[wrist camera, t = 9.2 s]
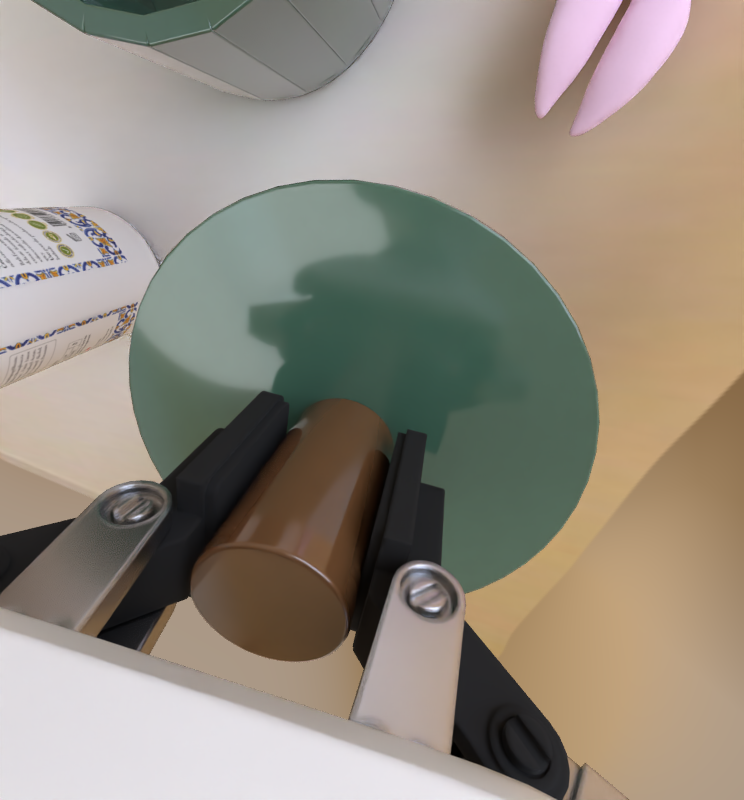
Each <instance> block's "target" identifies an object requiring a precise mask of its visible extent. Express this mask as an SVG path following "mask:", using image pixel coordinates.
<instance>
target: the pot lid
mask: <svg viewBox="0 0 744 800" xmlns="http://www.w3.org/2000/svg"><path fill="white" fill-rule="evenodd" d="M129 384H130V391H131V397H132V404H133V410H134V414H135V417H136V420H137V424H138V427H139V431H140V434H141V437H142V439H143V441H144V444H145V446H146V449H147V451H148V453H149V456H150V458H151V460H152V462H153V463H154V465H155V467H156V469H157V471H158V472H159V474H160V476H161V478H162V480H164V479H165V478H166V477H167V476H168V475H169V474H170V473H171V472H172V471H173V470H175V469H176V468H177V467H178V466H179V465H180V464H181V463H182V462H183V461H184V460H185V459H186V458H187V457H188V456H189V455H190V454H191V453H192V452H193V451H194V450H195V449H196V448H197V447H198V446H199V445H200V444H201V443H202V442H203V441H204V440H205V439H206V438H207V437H208V436H210V435H211V434H212V433H213V432H214V431H215V430H216V429H218V428H224V429H225V427H226V426H227V425H228V424H229V423H230V422H231V421H232V420H233V419H234V418H235V417H236V416H237V415H238V414H239V413H240V412H241V411H242V410H243V409H244V408H245V407H246V406H247V405H248V404H249V403H250V402H251V401H252V400H253V399H254V398H255V397H256V396H257V395H258V394H259V393H260V392H262V391H267V392H270V393H274V394H278V395H282V396H283V397H284V402H288V403H289V415H288V424H287V433H286V435H285V436H284V438H283V439H282V441H281V442H280V443H279V445H278V446H277V448H276V449H275V450H274V452H273V453H272V455H271V456H270V457H269V459H268V460H267V462H266V463H265V464H264V466H263V467H262V468H261V470H260V471H259V473H258V474H257V475H256V477H255V478H254V480H253V481H252V482H251V484H250V485H249V487H248V488H247V489H246V491H245V492H244V494H243V495H242V496H241V498H240V499H239V501H238V502H237V503H236V505H235V506H234V507H233V509H232V510H231V512H230V513H229V514H228V516H227V517H226V519H225V520H224V521H223V523H222V524H221V526H220V527H219V528H218V530H217V531H216V533H215V534H214V535H213V537H212V538H211V540H210V541H209V542H208V544H207V545H206V547H205V548H204V549H203V551H202V552H201V553H200V555H199V556H198V558H197V559H196V560H195V562H194V564H193V566H192V569H191V572H190V577H189V589H190V594H191V598H192V600H193V603H194V605H195V607H196V608H197V610H198V612H199V613H200V615H201V616H202V617H203V619H204V620H205V621H206V622H207V623H208V624H209V625H210V626H211V627H212V628H213V629H214V630H215V631H216V632H217V633H219V634H220V635H221V636H223V637H224V638H225V639H227V640H228V641H230V642H231V643H233V644H234V645H237V646H238V647H240V648H242V649H244V650H246V651H248V652H251V653H253V654H256V655H259V656H262V657H265V658H269V659H273V660H278V661H285V662H308V661H314V660H318V659H321V658H324V657H326V656H328V655H330V654H332V653H333V652H335V651H336V650H337V649H338V648H339V647H340V646H341V645H342V644H343V642H344V641H345V640H346V638H347V636H348V634H349V631H350V628H351V624H352V620H353V616H354V612H355V608H356V604H357V600H358V596H359V592H360V587H361V575H362V571H363V567H364V563H365V559H366V555H367V551H368V547H369V544H370V540H371V536H372V532H373V528H374V524H375V520H376V516H377V513H378V509H379V505H380V501H381V497H382V493H383V489H384V485H385V482H386V478H387V474H388V470H389V466H390V462H391V458H392V455H393V451H394V447H395V443H396V439H397V436H398V432H401V433H405V434H406V432H407V429H410V430H414V431H418V432H421V433H425V434H427V440H426V447H425V454H424V462H423V469H422V476H421V483H425V484H428V485H432V486H436V487H439V488H443V489H444V490H445V500H444V519H443V539H442V559H441V567H443V568H445V569H446V570H448V571H449V572H450V573H451V574H452V575H454V577H455V578H456V579H457V580H458V582H459V583H460V584H461V587H462V589H463V591H464V594H466V593H469V592H472V591H475V590H478V589H481V588H483V587H485V586H487V585H489V584H491V583H493V582H496V581H498V580H500V579H502V578H504V577H505V576H507V575H509V574H510V573H512V572H513V571H515V570H516V569H518V568H520V567H521V566H523V565H524V564H526V563H527V562H528V561H529V560H530V559H532V558H533V557H534V556H535V555H536V554H538V553H539V552H540V551H541V550H542V549H544V548H545V547H546V545H547V544H548V543H549V542H550V541H551V540H552V539H553V538H554V537H555V535H556V534H557V533H558V532H559V531H560V530H561V529H562V527H563V526H564V524H565V523H566V521H567V520H568V518H569V517H570V515H571V514H572V512H573V511H574V509H575V508H576V506H577V504H578V502H579V500H580V498H581V496H582V493H583V491H584V489H585V487H586V485H587V483H588V480H589V477H590V473H591V469H592V466H593V462H594V459H595V455H596V450H597V441H598V432H599V423H600V422H599V404H598V390H597V385H596V381H595V376H594V372H593V367H592V363H591V358H590V356H589V353H588V351H587V348H586V346H585V343H584V341H583V338H582V336H581V333H580V331H579V328H578V326H577V324H576V322H575V321H574V319H573V317H572V316H571V314H570V312H569V311H568V309H567V307H566V305H565V304H564V302H563V300H562V299H561V297H560V295H559V294H558V293H557V291H556V290H555V289H554V288H553V286H552V285H551V284H550V283H549V282H548V280H547V279H546V278H545V277H544V276H543V274H542V273H541V272H540V271H539V269H538V268H537V267H536V266H535V265H534V264H533V263H532V262H531V261H530V260H529V259H528V258H527V257H526V256H525V255H524V254H522V253H521V252H520V251H519V250H518V249H517V248H516V247H515V246H514V245H512V244H511V243H510V242H509V241H508V240H507V239H506V238H505V237H503V236H502V235H501V234H499V233H498V232H496V231H495V230H493V229H492V228H490V227H489V226H487V225H486V224H484V223H483V222H481V221H480V220H478V219H477V218H475V217H474V216H472V215H471V214H469V213H467V212H465V211H462V210H460V209H458V208H456V207H454V206H452V205H450V204H447V203H445V202H443V201H441V200H439V199H437V198H435V197H432V196H428V195H425V194H422V193H418V192H415V191H412V190H408V189H405V188H402V187H398V186H394V185H387V184H380V183H373V182H366V181H359V180H313V181H307V182H301V183H295V184H289V185H283V186H277V187H274V188H271V189H268V190H265V191H262V192H259V193H256V194H253V195H250V196H247V197H244V198H242V199H240V200H238V201H236V202H234V203H233V204H231V205H229V206H227V207H225V208H223V209H221V210H219V211H217V212H216V213H214V214H212V215H211V216H210V217H208V218H207V219H206V220H204V221H203V222H202V223H201V224H199V225H198V226H197V227H195V228H194V229H193V230H191V231H190V232H189V233H188V234H187V235H186V236H185V237H184V238H183V239H182V240H181V241H180V242H179V243H178V244H177V245H176V247H175V248H174V249H173V250H172V251H171V252H170V253H169V254H168V255H167V256H166V258H165V260H164V261H163V263H162V264H161V266H160V267H159V269H158V270H157V272H156V273H155V275H154V276H153V278H152V279H151V281H150V283H149V285H148V287H147V290H146V292H145V294H144V296H143V299H142V301H141V303H140V305H139V308H138V312H137V316H136V319H135V323H134V327H133V330H132V336H131V345H130V353H129Z"/></svg>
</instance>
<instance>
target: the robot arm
mask: <svg viewBox="0 0 744 800" xmlns="http://www.w3.org/2000/svg"><path fill="white" fill-rule="evenodd" d="M288 415H289V403H288V402H284V397H283V396H282V395H278V394H274V393H270V392H267V391H262V392H260V393H259V394H258V395H257V396H256V397H255V398H254V399H253V400H252V401H251V402H250V403H249V404H248V405H247V406H246V407H245V408H244V409H243V410H242V411H241V412H240V413H239V414H238V415H237V416H236V417H235V418H234V419H233V420H232V421H231V422H230V423H229V424H228V425H227V426H226V427H225V429H224V428H218V429H216V430H215V431H214V432H213V433H212V434H211V435H210V436H208V437H207V438H206V439H205V440H204V441H203V442H202V443H201V444H200V445H199V446H198V447H197V448H196V449H195V450H194V451H193V452H192V453H191V454H190V455H189V456H188V457H187V458H186V459H185V460H184V461H183V462H182V463H181V464H180V465H179V466H178V467H177V468H176V469H175V470H173V471H172V472H171V473H170V474H169V475H168V476H167V477H166V478H165V479H164V480H163V481H162V482H161V483H160V484H158V483H156V482H153V481H142V480H141V481H130V482H126V483H122V484H118V485H116V486H114V487H112V488H110V489H108V490H106V491H105V492H103V493H102V494H101V495H99V496H98V497H97V498H96V499H95V500H94V501H93V502H92V503H91V504H90V505H89V506H88V507H87V508H86V509H85V510H84V511H83V512H82V513H81V514H80V515H79V516H78V517H77V518H73V519H69V520H65V521H61V522H57V523H53V524H49V525H44V526H40V527H36V528H32V529H28V530H24V531H19V532H15V533H11V534H7V535H2V536H0V800H629V799H628V798H626V797H625V796H624V795H623V794H622V793H621V792H619V791H618V790H617V789H616V788H615V787H613V786H612V785H611V784H610V783H609V782H608V781H606V780H605V779H604V778H603V777H602V776H601V775H599V774H598V773H597V772H596V771H594V770H593V769H592V768H591V767H590V766H589V765H587V764H586V763H585V764H584V765H583V766H582V767H580V766H579V765H578V764H576V763H575V762H574V761H573V760H572V759H571V758H569V757H568V756H567V753H566V751H565V749H564V746H563V744H562V742H561V739H560V737H559V736H558V734H557V733H556V731H555V730H554V729H553V727H552V725H551V724H550V722H549V721H548V720H547V719H546V718H545V717H544V715H543V714H542V713H541V711H540V710H539V709H538V708H537V707H536V705H535V704H534V703H533V702H532V701H531V700H530V698H529V697H528V696H527V695H526V693H525V692H524V691H523V690H522V689H521V687H520V686H519V685H518V684H517V683H516V681H515V680H514V679H513V678H512V677H511V675H510V674H509V673H508V672H507V670H506V669H505V668H504V667H503V666H502V664H501V663H500V662H499V661H498V660H497V658H496V657H495V656H494V655H493V654H492V652H491V651H490V650H489V649H488V648H487V646H486V645H485V644H484V643H483V642H482V640H481V639H480V638H479V637H478V636H477V634H476V633H475V632H474V631H473V630H472V628H471V627H470V626H469V625H468V623H467V622H466V621H465V620H464V618H465V608H466V602H465V594H464V591H463V589H462V587H461V584H460V583H459V582H458V580H457V579H456V578H455V577H454V575H452V574H451V573H450V572H449V571H448V570H446V569H445V568H443V567H441V559H442V539H443V519H444V500H445V490H444V489H443V488H439V487H436V486H432V485H428V484H425V483H421V476H422V469H423V462H424V454H425V447H426V440H427V434H425V433H421V432H418V431H414V430H410V429H407V432H406V434H405V433H401V432H398V436H397V439H396V443H395V447H394V451H393V455H392V458H391V462H390V466H389V470H388V474H387V478H386V482H385V485H384V489H383V493H382V497H381V501H380V505H379V509H378V513H377V516H376V520H375V524H374V528H373V532H372V536H371V540H370V544H369V547H368V551H367V555H366V559H365V563H364V567H363V571H362V575H361V587H360V592H359V596H358V600H357V604H356V608H355V612H354V616H353V620H352V624H351V628H350V630H353V631H356V634H355V639H354V643H353V647H354V648H353V651H354V653H355V655H356V656H357V658H358V660H359V661H360V663H361V665H362V667H363V668H364V670H363V673H362V677H361V680H360V683H359V686H358V690H357V693H356V696H355V700H354V703H353V706H352V709H351V712H350V716H349V719H348V720H347V719H344V718H341V717H338V716H335V715H332V714H329V713H326V712H323V711H320V710H317V709H314V708H310V707H308V706H305V705H302V704H298V703H295V702H293V701H289V700H287V699H283V698H280V697H277V696H274V695H271V694H268V693H265V692H262V691H259V690H256V689H253V688H250V687H247V686H243V685H241V684H238V683H235V682H232V681H228V680H225V679H222V678H219V677H216V676H213V675H210V674H207V673H203V672H201V671H198V670H195V669H191V668H188V667H185V666H182V665H179V664H176V663H173V662H170V661H167V660H164V659H161V658H157V657H154V656H151V655H150V653H151V651H152V649H153V647H154V646H155V644H156V642H157V640H158V638H159V637H160V635H161V633H162V631H163V629H164V627H165V626H166V624H167V622H168V620H169V619H170V617H171V615H172V613H173V611H174V609H175V606H176V603H177V602H179V601H182V600H185V599H187V598H188V596H189V597H191V594H190V589H189V577H190V572H191V569H192V566H193V564H194V562H195V560H196V559H197V558H198V556H199V555H200V553H201V552H202V551H203V549H204V548H205V547H206V545H207V544H208V542H209V541H210V540H211V538H212V537H213V535H214V534H215V533H216V531H217V530H218V528H219V527H220V526H221V524H222V523H223V521H224V520H225V519H226V517H227V516H228V514H229V513H230V512H231V510H232V509H233V507H234V506H235V505H236V503H237V502H238V501H239V499H240V498H241V496H242V495H243V494H244V492H245V491H246V489H247V488H248V487H249V485H250V484H251V482H252V481H253V480H254V478H255V477H256V475H257V474H258V473H259V471H260V470H261V468H262V467H263V466H264V464H265V463H266V462H267V460H268V459H269V457H270V456H271V455H272V453H273V452H274V450H275V449H276V448H277V446H278V445H279V443H280V442H281V441H282V439H283V438H284V436H285V435H286V433H287V424H288Z"/></svg>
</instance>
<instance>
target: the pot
mask: <svg viewBox="0 0 744 800" xmlns="http://www.w3.org/2000/svg"><path fill="white" fill-rule="evenodd" d="M31 1H33V2H34V3H36V4H37V5H39V6H41V7H42V8H44V9H45V10H47V11H49V12H50V13H52V14H53V15H55V16H57V17H58V18H60V19H61V20H63V21H65V22H66V23H68V24H69V25H71V26H73V27H74V28H76V29H77V30H79V31H81V32H82V33H84V34H86V35H89V36H91V37H94V38H96V39H98V40H101V41H103V42H106V43H108V44H110V45H113V46H115V47H118V48H120V49H122V50H125V51H127V52H130V53H132V54H134V55H137V56H139V57H141V58H144V59H146V60H149V61H151V62H153V63H156V64H158V65H161V66H163V67H165V68H168V69H170V70H173V71H175V72H177V73H180V74H182V75H185V76H187V77H189V78H192V79H194V80H196V81H199V82H201V83H204V84H206V85H208V86H211V87H213V88H216V89H218V90H220V91H223V92H226V93H231V94H235V95H239V96H242V97H246V98H249V99H257V100H265V101H268V100H285V99H289V98H294V97H299V96H302V95H304V94H307V93H309V92H312V91H314V90H317V89H319V88H320V87H322V86H324V85H325V84H327V83H329V82H330V81H332V80H334V79H335V78H336V77H337V76H338V75H340V74H341V73H342V72H343V71H345V70H346V69H347V68H348V67H349V66H350V65H351V64H352V63H353V62H354V61H355V60H356V59H357V58H358V57H359V56H360V55H361V53H362V52H363V51H364V50H365V49H366V47H367V46H368V44H369V43H370V42H371V40H372V39H373V38H374V36H375V35H376V33H377V32H378V30H379V28H380V27H381V25H382V23H383V21H384V19H385V18H386V16H387V14H388V12H389V10H390V8H391V6H392V3H393V1H394V0H31Z"/></svg>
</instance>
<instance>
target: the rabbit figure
mask: <svg viewBox="0 0 744 800" xmlns="http://www.w3.org/2000/svg"><path fill="white" fill-rule="evenodd" d="M622 1H623V0H557V2H556V5H555V8H554V11H553V14H552V17H551V20H550V23H549V26H548V29H547V32H546V36H545V39H544V43H543V48H542V52H541V57H540V63H539V69H538V76H537V83H536V90H535V113H536V115H537V117H538V118H543V117H544V116H545V115H546V114H547V113H548V111H549V110H550V109H551V107H552V106H553V105H554V103H555V102H556V101H557V100H558V98H559V97H560V96H561V95H562V93H563V92H564V91H565V90H566V89H567V88H568V86H569V85H570V84H571V83H572V82H573V80H574V79H575V78H576V76H577V75H578V74H579V72H580V71H581V69H582V68H583V66H584V65H585V64H586V62H587V61H588V59H589V57H590V56H591V54H592V52H593V51H594V49H595V47H596V45H597V44H598V42H599V40H600V39H601V37H602V35H603V34H604V32H605V30H606V29H607V27H608V25H609V24H610V22H611V20H612V19H613V17H614V15H615V14H616V12H617V10H618V8H619V6H620V4H621V3H622ZM690 7H691V0H631V3H630V6H629V7H628V9H627V11H626V13H625V14H624V16H623V18H622V20H621V22H620V24H619V25H618V27H617V29H616V31H615V33H614V35H613V36H612V38H611V40H610V42H609V44H608V46H607V48H606V50H605V52H604V54H603V56H602V57H601V59H600V61H599V63H598V65H597V67H596V69H595V72H594V74H593V76H592V78H591V80H590V82H589V84H588V87H587V89H586V92H585V94H584V97H583V100H582V103H581V105H580V108H579V110H578V113H577V115H576V118H575V120H574V122H573V125H572V127H571V129H570V135H571V136H579V135H582V134H584V133H586V132H588V131H589V130H591V129H592V128H594V127H596V126H597V125H599V124H600V123H601V122H603V121H604V120H606V119H607V118H608V117H610V116H611V115H612V114H614V113H615V112H616V111H618V110H619V109H620V108H621V107H623V106H624V105H625V104H626V103H628V102H629V101H630V100H631V99H632V98H633V97H634V96H635V95H636V94H637V93H638V92H640V90H641V89H642V88H643V87H644V86H645V85H646V84H647V83H648V82H649V81H650V80H651V78H652V77H653V76H654V75H655V73H656V72H657V71H658V70H659V69H660V67H661V66H662V65H663V64H664V62H665V61H666V60H667V59H668V57H669V56H670V55H671V53H672V52H673V50H674V49H675V47H676V46H677V44H678V42H679V41H680V39H681V37H682V35H683V33H684V31H685V28H686V26H687V22H688V19H689V14H690Z"/></svg>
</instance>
